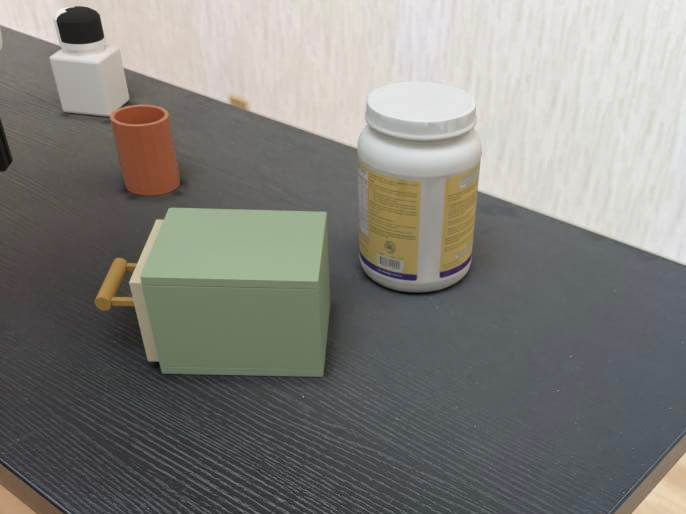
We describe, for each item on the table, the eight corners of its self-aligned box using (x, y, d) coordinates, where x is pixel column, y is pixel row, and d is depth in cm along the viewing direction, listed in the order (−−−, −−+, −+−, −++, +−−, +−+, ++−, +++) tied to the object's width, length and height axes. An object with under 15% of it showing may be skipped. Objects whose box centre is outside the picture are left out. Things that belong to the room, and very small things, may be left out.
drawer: (100, 360, 72) (77, 281, 67) (128, 294, 80) (110, 217, 75) (297, 364, 73) (291, 286, 67) (306, 298, 81) (302, 223, 75)
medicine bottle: (130, 100, 118) (111, 4, 109) (110, 117, 113) (88, 19, 104) (84, 95, 119) (62, 0, 110) (62, 112, 114) (36, 14, 105)
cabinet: (161, 374, 73) (139, 276, 66) (186, 300, 81) (168, 207, 74) (323, 377, 73) (318, 280, 66) (330, 303, 82) (326, 211, 75)
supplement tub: (449, 235, 93) (461, 73, 80) (487, 289, 85) (506, 119, 72) (346, 247, 90) (342, 81, 78) (375, 303, 82) (375, 129, 70)
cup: (119, 195, 97) (103, 124, 91) (131, 172, 101) (117, 103, 96) (175, 196, 97) (162, 126, 91) (184, 173, 102) (173, 105, 96)
